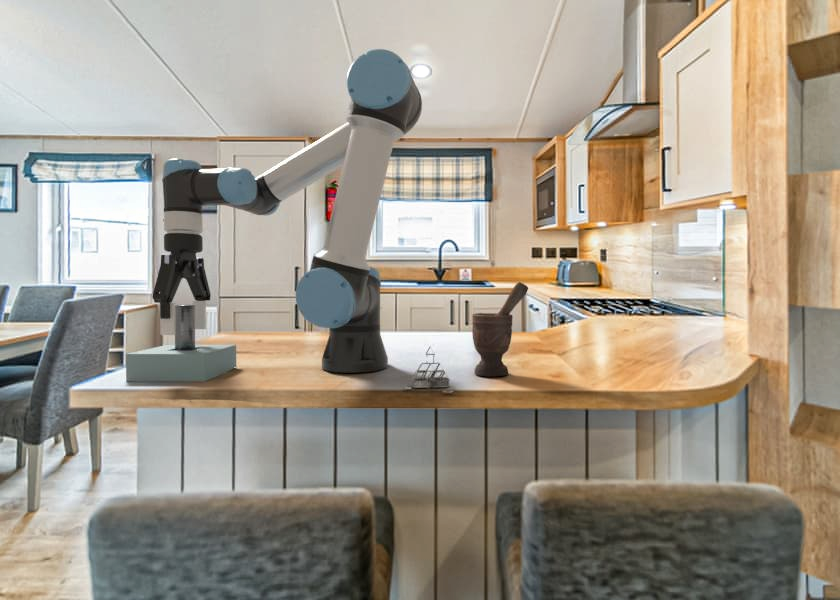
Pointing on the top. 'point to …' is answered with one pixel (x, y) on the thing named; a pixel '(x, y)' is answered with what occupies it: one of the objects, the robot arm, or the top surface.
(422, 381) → the house of cards
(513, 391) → the top surface
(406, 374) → the top surface
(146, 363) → the bore block
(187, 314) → the pin
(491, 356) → the mortar and pestle
